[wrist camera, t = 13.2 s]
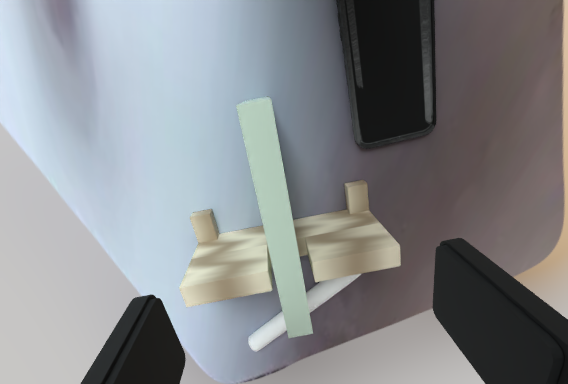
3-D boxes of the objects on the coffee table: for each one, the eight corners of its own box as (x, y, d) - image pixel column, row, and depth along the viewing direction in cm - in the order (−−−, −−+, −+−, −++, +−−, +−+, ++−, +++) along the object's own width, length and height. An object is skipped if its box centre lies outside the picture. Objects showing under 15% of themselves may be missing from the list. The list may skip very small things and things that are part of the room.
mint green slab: (298, 260, 31) (313, 333, 22) (281, 263, 31) (288, 338, 21) (268, 96, 24) (271, 99, 15) (246, 100, 24) (236, 105, 15)
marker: (359, 247, 31) (366, 258, 29) (369, 257, 32) (377, 270, 30) (248, 332, 35) (247, 348, 32) (259, 340, 35) (259, 357, 33)
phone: (433, -60, 21) (436, 132, 26) (425, -53, 22) (429, 130, 27) (333, -36, 21) (357, 151, 26) (330, -30, 22) (353, 149, 27)
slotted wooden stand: (213, 274, 31) (197, 333, 23) (192, 212, 28) (166, 256, 20) (367, 245, 31) (401, 294, 23) (363, 179, 28) (399, 212, 20)
